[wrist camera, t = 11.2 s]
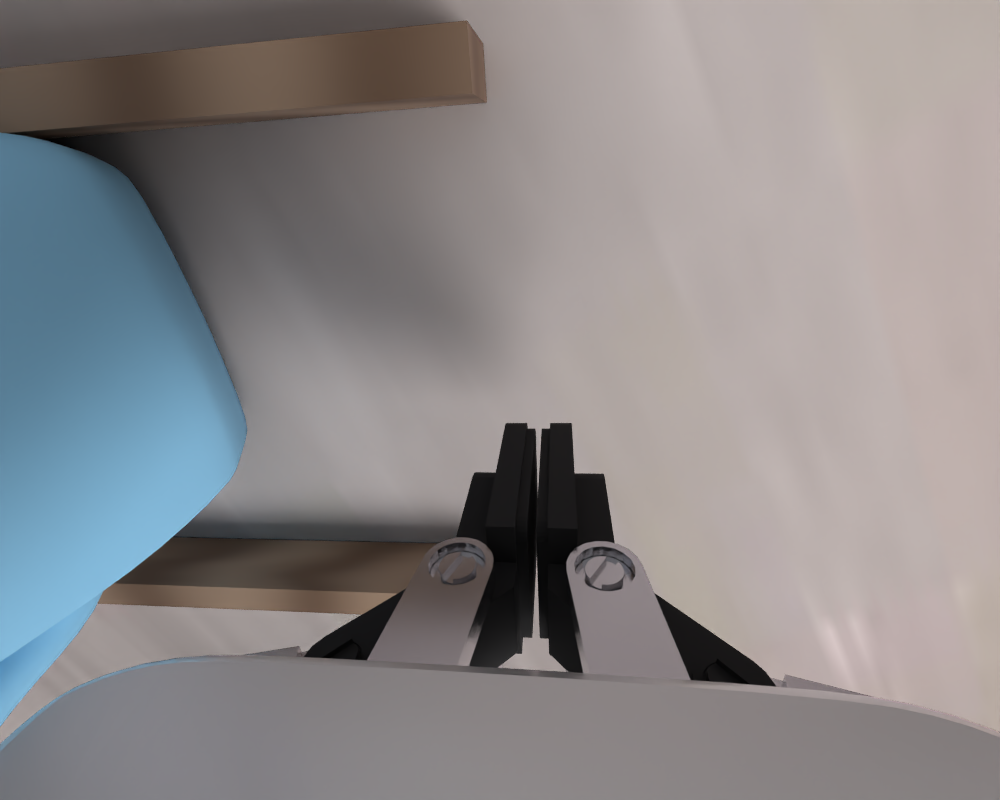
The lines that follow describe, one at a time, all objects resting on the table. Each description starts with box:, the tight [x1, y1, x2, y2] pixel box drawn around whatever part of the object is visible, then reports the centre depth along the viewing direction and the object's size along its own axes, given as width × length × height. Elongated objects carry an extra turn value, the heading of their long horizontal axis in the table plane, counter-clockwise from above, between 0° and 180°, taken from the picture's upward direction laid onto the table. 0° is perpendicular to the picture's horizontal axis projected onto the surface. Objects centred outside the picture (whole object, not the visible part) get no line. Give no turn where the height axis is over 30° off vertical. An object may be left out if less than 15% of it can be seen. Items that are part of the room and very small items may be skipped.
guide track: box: [0, 21, 487, 614], centre depth 15 cm, size 28×17×6 cm, turn 94°
